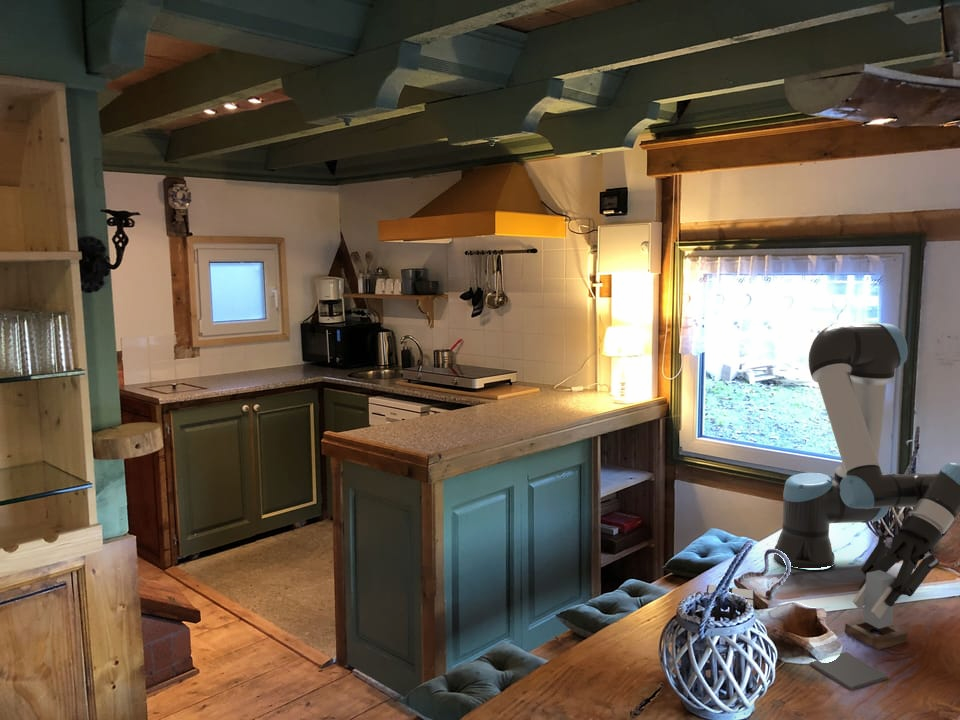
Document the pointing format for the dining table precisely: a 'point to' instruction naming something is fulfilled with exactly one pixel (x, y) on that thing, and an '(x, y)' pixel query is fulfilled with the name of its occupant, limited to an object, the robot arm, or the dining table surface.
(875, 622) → the slate block
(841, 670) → the rubber pad
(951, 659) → the dining table surface
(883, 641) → the frame
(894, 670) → the dining table surface
